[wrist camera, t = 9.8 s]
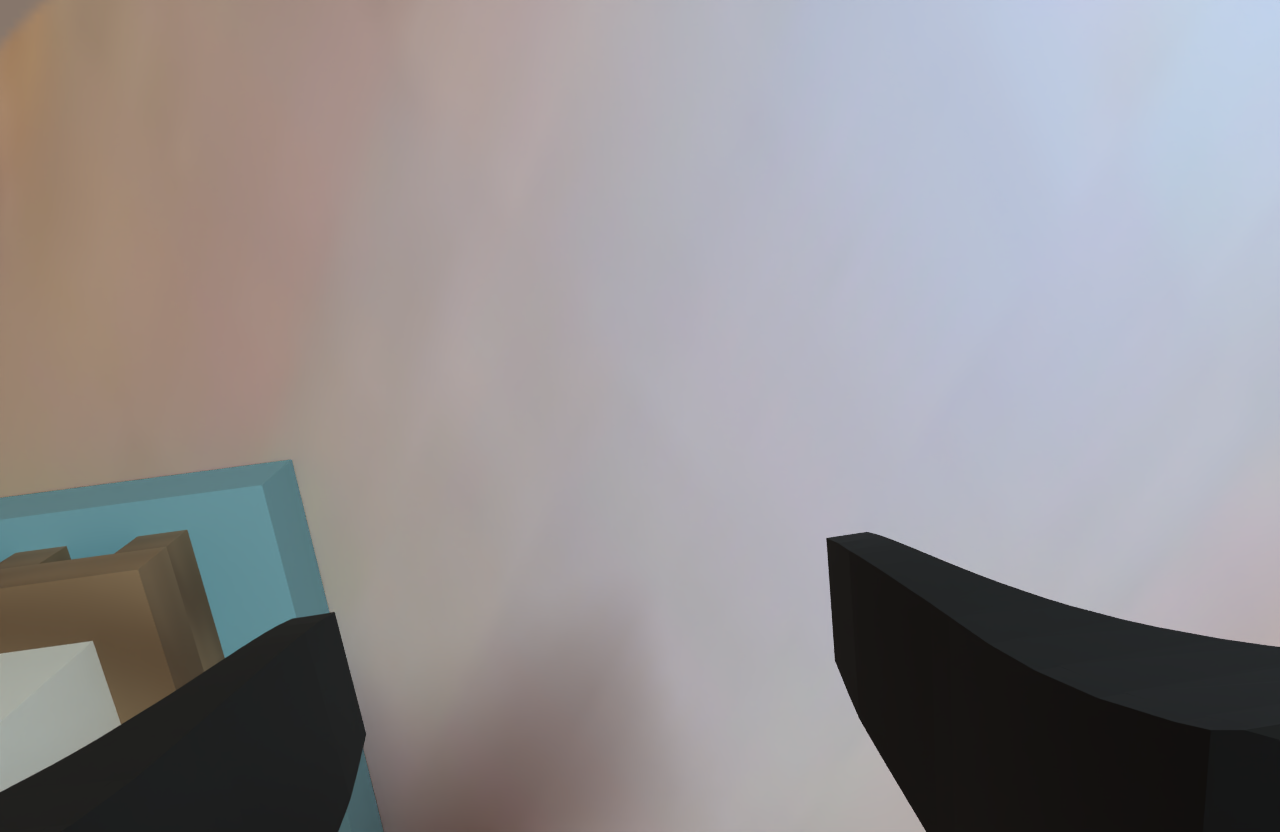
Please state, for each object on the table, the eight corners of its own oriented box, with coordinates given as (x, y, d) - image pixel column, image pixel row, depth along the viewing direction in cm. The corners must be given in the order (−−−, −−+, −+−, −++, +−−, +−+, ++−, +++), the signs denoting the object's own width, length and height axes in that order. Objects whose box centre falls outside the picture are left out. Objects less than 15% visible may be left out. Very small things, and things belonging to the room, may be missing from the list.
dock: (430, 1021, 26) (418, 1086, 24) (96, 1075, 26) (56, 1146, 24) (291, 459, 21) (262, 484, 19) (-132, 515, 20) (-207, 547, 18)
